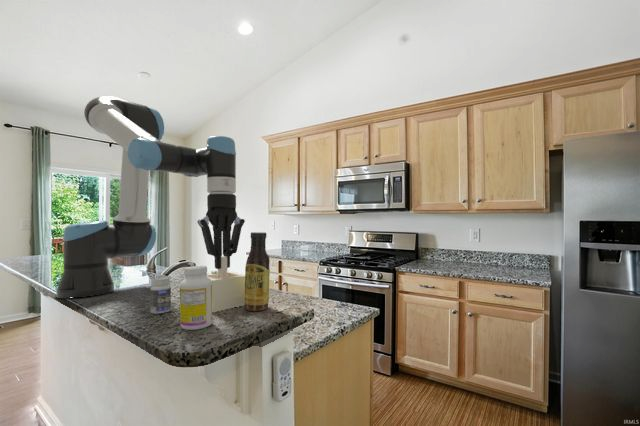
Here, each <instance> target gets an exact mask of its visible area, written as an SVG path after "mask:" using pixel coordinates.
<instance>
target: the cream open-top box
mask: <svg viewBox="0 0 640 426" xmlns="http://www.w3.org/2000/svg"><path fill="white" fill-rule="evenodd" d="M206 277H208V278H210V279H211V281H212V312H214V313H218V312H217V311H219V312H222V311H221V310H223V311H226V310H225V309H228V310H230V309H229V308H233V309H235V308H234V307H237V308H240V307H239V306H242V307H245V306H244V305H245V302H244V300H245V273H239V272H234V271H231V270H227V278H220V279H218V270H211V271H210V272H207V273H206Z"/></svg>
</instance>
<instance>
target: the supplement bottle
mask: <svg viewBox="0 0 640 426" xmlns="http://www.w3.org/2000/svg"><path fill="white" fill-rule="evenodd" d="M183 273H184V275H185V278H184V279H182V280H181V281H180V283H179V317H180V318H179V321H180V323H179V325H180V328H181V329H183V330H188V331H194V330H195V331H197V330H202V329H205V328H207V327H209V326H211V325H212V324H213V313H212V281H211V279H210V278H208V277H206V273H208V266H206V265H193V266H187V267H184V272H183Z"/></svg>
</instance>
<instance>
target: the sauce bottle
mask: <svg viewBox="0 0 640 426" xmlns="http://www.w3.org/2000/svg"><path fill="white" fill-rule="evenodd" d="M266 240H267V232H265V231H264V232H262V231H260V232H259V231H253V232H252V231H251V232H250V250H249V254H248V256H247V259H246V263H245V267H244V268H245V269H244V271H245V272H244V275H245V300H244V302H245V306H244V309H245V310H247V311H250V312H262V311H265V310H267V309H268V308H269V302H270V263H271V261H270V260H271V259H270V256H269V255H268V253H267V249H266V248H267V247H266Z"/></svg>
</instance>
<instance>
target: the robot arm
mask: <svg viewBox="0 0 640 426" xmlns="http://www.w3.org/2000/svg"><path fill="white" fill-rule="evenodd" d="M83 116H84V119H85V121H86V123H87V124H88V125H89V126H90V127H91V128H92V129H93V130H94V131H96V132H97V133H100V134H104V135H106V136H107V137H109V138H110V139H111V140H113V141H114V142H115V143H116V144H118V145H119V146H120V147H121V148H122V155H121V156H122V157H121V168H120V169H121V171H120V172H121V173H120V187H119V199H118V200H119V201H118V214H116V216H114V217H113V218H112V224H109V222H108V221H107V220H97V221H95V220H94V221H85V222H78V223H72V224H68V225H66V226H65V228H64V230H63V231H64V232H63V238H62V242H63V273H62V275H61V277H60V280H59V283H58V285H57V288H56V298H58V299H71V298H70V297H73V298H72V299H75V298H74V297H83V298H88V297H87V296H91V297H93V296H92V295H97V296H101V295H100V294H102V295H106V294H109V293H112V292H113V291H115V283H114V280H113V277H112V276H111V275H112V274H111V273H110V270H109V262H108V261H109V259H118V258H126V257H127V258H128V257H133V258H134V257H139V256H144V255H147V254H149V253H150V252H151V251H152V250H153V248H154V247H155V244H156V241H157V231H156V228H155V226H154V225H153V224H152V223H151V219H150V218H149V217H148V216H147V206H148V205H147V204H148V191H149V190H148V189H149V180H150V179H149V178H150V171H155V172H156V171H157V172H164V173H174V174H182V175H183V176H185V177H189V178H190V177H192V178H193V177H194V178H198V177H201V176H206V179H207V180H206V181H207V182H206V184H207V185H206V186H207V187H206V192H207V193H208V195H207V198H206V201H207V203H206V204H207V206H206V207H207V210H206V213H205V216H204V217H203V218H201V219H197V224H198V226H199V227H200V229H201V233H202V236H203V241H204V244H205V245H204V246H205V248H206V253H207V255H210V256H213V257H214V268H215V270H217V272H218V279H220V278H227V271H228V269H230V267H231V257H232V256H233V255H234V254H236V253H237V252H238V247H239V242H240V237H241V232H242V228H243V226H244V224H245V222H246V220H245V219H244V218H241V217H239V216H238V213H237V211H236V207H237V195H235V194H236V191H237V187H236V186H237V185H236V184H237V182H236V181H237V180H236V179H237V177H236V174H237V173H236V171H237V170H236V169H237V167H236V166H237V162H236V157H237V156H236V155H237V150H236V143H235V141H234V139H233V138H231V137H228V136H224V135H211V136H209V137H208V138H207V139H206V147H204V148H198V149H197V148H191V147H187V146H183V145H182V146H181V145H178V144H177V145H176V144H172V143H166V142H163V141H161V140H162V138H163V136H164V134H165V122H164V119H163V117H162V115H161V113H160V112H159V111H158V110H157V109H155V108H152V107H149V106H148V105H143V104H140V103H136V102H133V101H129V100H125V99H121V98H118V97H114V96H107V95H106V96H104V95H103V96H98V97H94V98H92V99H91V100H90V101H89V102H87V104H86V106H85V107H84V115H83ZM233 223H234V225H233ZM209 224H211V226H212V231H213V237H212V233H211V228H210V226H209ZM232 226H233V228H232ZM231 232H232V233H231Z"/></svg>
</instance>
